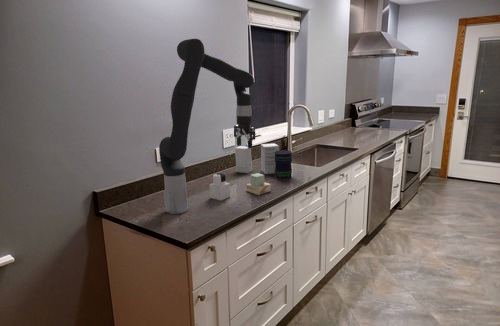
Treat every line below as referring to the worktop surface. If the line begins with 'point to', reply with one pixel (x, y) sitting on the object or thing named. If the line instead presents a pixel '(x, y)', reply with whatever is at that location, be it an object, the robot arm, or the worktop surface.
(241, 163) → the skincare box
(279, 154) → the storage jar
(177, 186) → the robot arm
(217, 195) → the medicine bottle
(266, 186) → the maple box
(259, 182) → the sage cube
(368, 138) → the worktop surface
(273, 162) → the supplement box
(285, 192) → the worktop surface
